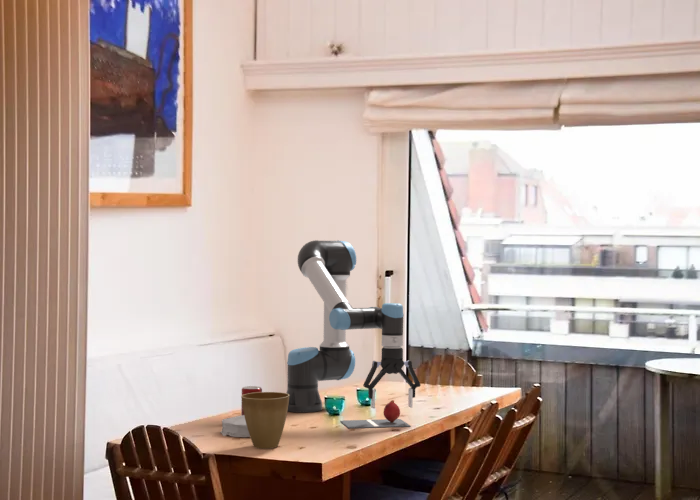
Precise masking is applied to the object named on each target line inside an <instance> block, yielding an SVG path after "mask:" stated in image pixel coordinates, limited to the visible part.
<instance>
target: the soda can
mask: <svg viewBox="0 0 700 500" xmlns="http://www.w3.org/2000/svg"><path fill="white" fill-rule="evenodd" d="M256 392H263V388H262V387H261V386H256V385H254V386H253V385H252V386H251V385H250V386H248V385H247V386H243V387H242V388H241V396H242V395H244V394H248V393H256ZM240 400H241V405H240V406H241V409H240V410H241V411H240V412H241V413H240V416H242V415H244V411H243V405H242V399H240Z"/></svg>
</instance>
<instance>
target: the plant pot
mask: <svg viewBox="0 0 700 500" xmlns="http://www.w3.org/2000/svg"><path fill="white" fill-rule="evenodd" d="M240 397H241V399H240V400H242V405H243V411H244V416H245V420H246V424H247V428H248V431H249V435H250V437H249V438H250V440H251V443H252V445H253V448H255V449H259V450H261V449H263V450H265V449H266V450H268V449H269V450H270V449H275V448H277V447H278V446H279V444H280V440H281V438H282V435H283V432H284V428H285V424H286V419H287V415H288V411H287V410H288V404H289V394H287V393H286V392H280V391H279V392H277V391H262V392H256V393H248V394H244V395H242V394H241V395H240Z"/></svg>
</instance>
